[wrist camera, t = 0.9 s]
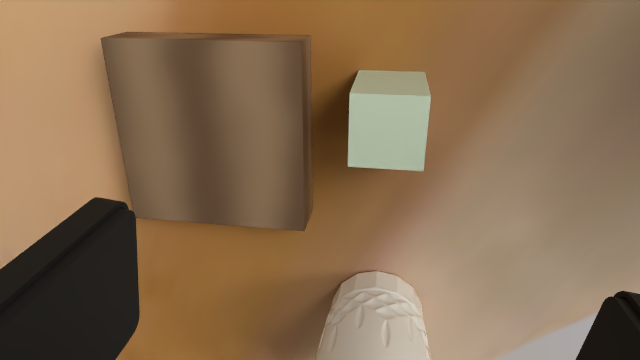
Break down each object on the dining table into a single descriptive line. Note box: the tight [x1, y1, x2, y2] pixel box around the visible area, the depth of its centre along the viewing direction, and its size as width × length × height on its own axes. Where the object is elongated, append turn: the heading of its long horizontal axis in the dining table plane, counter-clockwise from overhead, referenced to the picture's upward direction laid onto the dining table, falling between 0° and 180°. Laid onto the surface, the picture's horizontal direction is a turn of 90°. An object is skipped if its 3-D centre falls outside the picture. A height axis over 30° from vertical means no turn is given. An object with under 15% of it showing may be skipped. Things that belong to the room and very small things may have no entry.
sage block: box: [348, 70, 431, 171], centre depth 27 cm, size 4×4×6 cm
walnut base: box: [101, 32, 312, 231], centre depth 30 cm, size 12×12×3 cm
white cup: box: [315, 271, 431, 360], centre depth 31 cm, size 8×8×10 cm
